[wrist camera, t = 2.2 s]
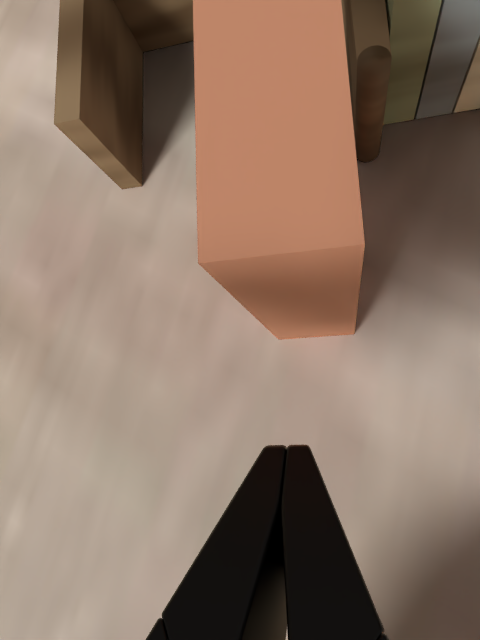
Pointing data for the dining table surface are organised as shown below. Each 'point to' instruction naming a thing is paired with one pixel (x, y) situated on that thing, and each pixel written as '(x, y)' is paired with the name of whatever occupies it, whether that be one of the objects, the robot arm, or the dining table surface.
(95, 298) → the dining table surface
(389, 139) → the dining table surface
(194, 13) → the book
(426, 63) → the book rack
